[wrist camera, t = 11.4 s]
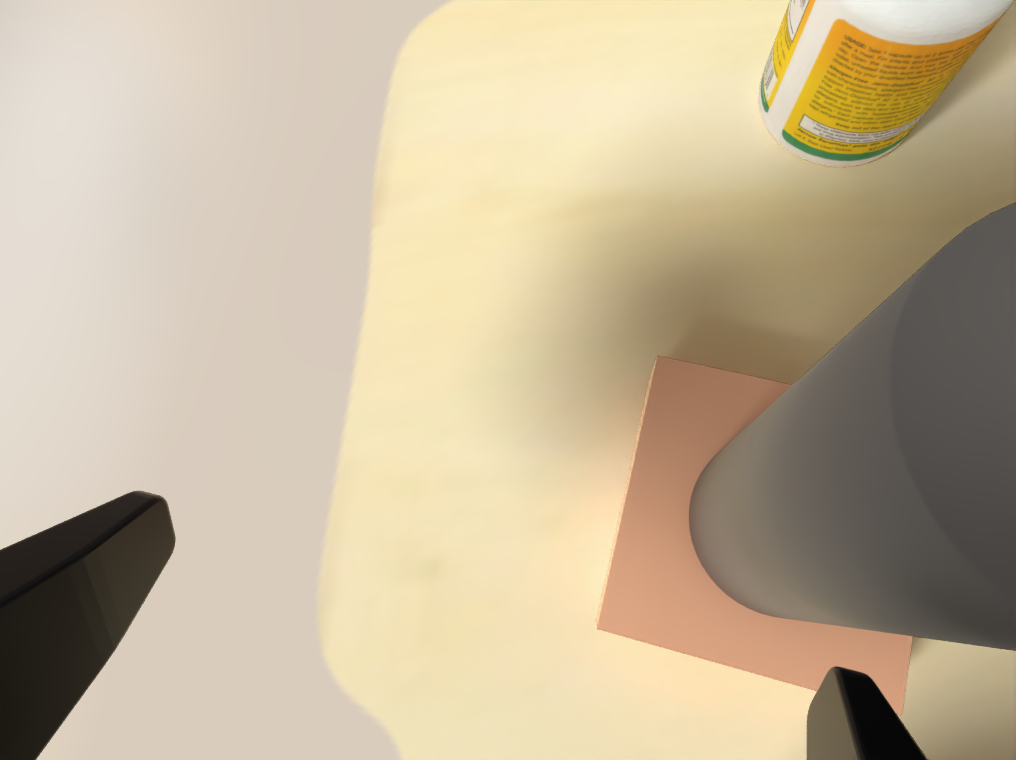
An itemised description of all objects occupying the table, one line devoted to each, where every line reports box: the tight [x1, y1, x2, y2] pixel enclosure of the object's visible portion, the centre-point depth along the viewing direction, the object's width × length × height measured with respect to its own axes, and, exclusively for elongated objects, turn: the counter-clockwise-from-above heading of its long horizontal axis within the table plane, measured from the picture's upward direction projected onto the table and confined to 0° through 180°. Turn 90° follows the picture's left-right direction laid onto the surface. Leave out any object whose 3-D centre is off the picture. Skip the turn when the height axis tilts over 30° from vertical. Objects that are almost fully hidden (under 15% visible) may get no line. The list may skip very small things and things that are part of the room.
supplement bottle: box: [758, 0, 1014, 167], centre depth 20 cm, size 5×5×10 cm
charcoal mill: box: [689, 203, 1016, 651], centre depth 13 cm, size 5×5×13 cm
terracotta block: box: [596, 356, 913, 715], centre depth 21 cm, size 8×8×3 cm
